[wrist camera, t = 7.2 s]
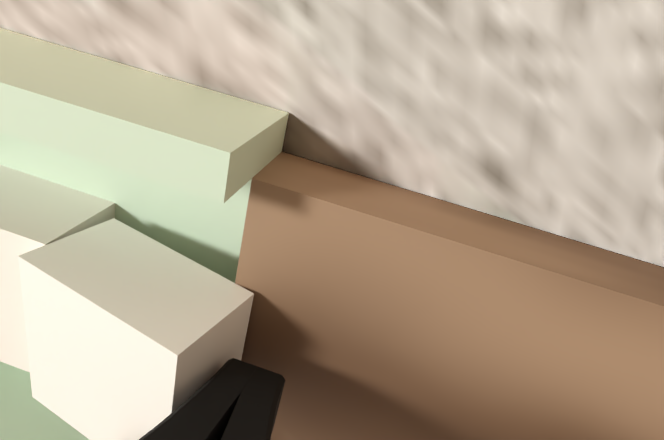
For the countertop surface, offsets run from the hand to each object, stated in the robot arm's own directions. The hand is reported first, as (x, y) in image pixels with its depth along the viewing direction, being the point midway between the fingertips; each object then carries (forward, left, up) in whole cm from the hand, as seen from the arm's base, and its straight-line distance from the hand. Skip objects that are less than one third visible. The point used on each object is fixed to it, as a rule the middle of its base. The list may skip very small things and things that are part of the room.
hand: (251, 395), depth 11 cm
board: (0, -5, -3) cm, 6 cm away
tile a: (0, +3, -1) cm, 3 cm away
